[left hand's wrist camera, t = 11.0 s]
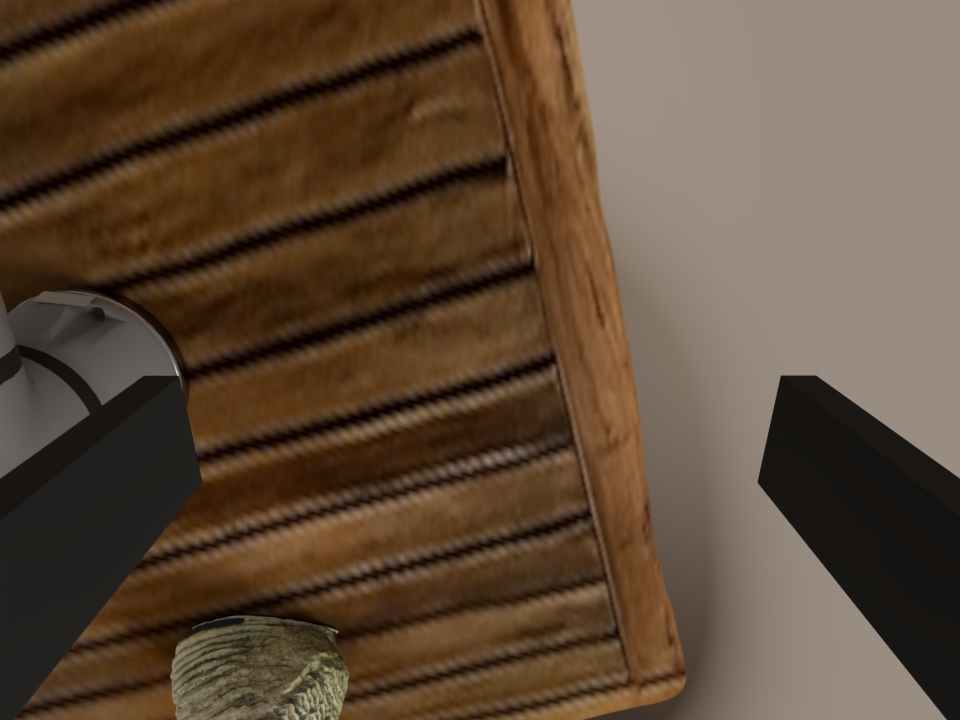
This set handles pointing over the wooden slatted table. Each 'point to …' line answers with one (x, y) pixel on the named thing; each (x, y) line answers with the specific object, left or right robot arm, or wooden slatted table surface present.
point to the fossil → (258, 671)
